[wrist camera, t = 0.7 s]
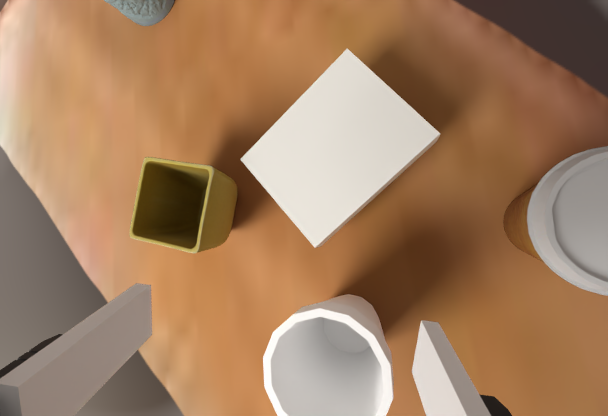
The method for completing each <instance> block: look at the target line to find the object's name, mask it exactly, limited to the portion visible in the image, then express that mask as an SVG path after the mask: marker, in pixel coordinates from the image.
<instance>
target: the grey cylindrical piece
mask: <svg viewBox="0 0 608 416" xmlns="http://www.w3.org/2000/svg"><path fill="white" fill-rule="evenodd" d="M104 1H105V2H107V3H109V4H111V5H112V6H114V7H115V8H117V9H118V10H119V11H120V12H121V13H123V14H124V15H125V16H126V17H128V18H129V19H131V20H132V21H134V22H135V23H137V24H139V25H142V26H150V25H154V24H156V23H158V22H160V21H161V20H162V19H164V17H165V16H166V15H167V14H168V13H169V11H170V10H171V8H172V6H173V4H174V0H104Z"/></svg>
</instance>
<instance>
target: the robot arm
mask: <svg viewBox="0 0 608 416" xmlns="http://www.w3.org/2000/svg"><path fill="white" fill-rule="evenodd" d="M151 335H152V311H151V285H145V284H138V283H136V284H135V285H133V286H132V287H130V288H129V289H128V290H126V291H125V292H123V293H122V294H120V295H119V296H118V297H116V298H115V299H113V300H112V301H110V302H109V303H108V304H106V305H105V306H103V307H102V308H100V309H99V310H98V311H96V312H95V313H93V314H92V315H90V316H89V317H88V318H86V319H85V320H83V321H82V322H80V323H79V324H78V325H76V326H75V327H74V328H72V329H70V330H69V331H68V332H66V333H65V334H58V335H56V336H54V337H52V338H49V339H47V340H45V341H43V342H41V343H40V344H38V345H37V346H35V347H34V348H33V349H31V350H30V351H29V352H27V353H25V354H24V355H22V356H21V357H19V358H18V360H15V361H13V362H12V363H10V364H9V365H7V366H6V367H4V368H3V369H1V370H0V416H74V415H75V414H76V413H77V412H78V411H79V410H80V408H82V407H83V406H84V404H86V403H87V401H88V400H89V399H90V398H91V397H92V396H93V395H94V394H95V393H96V392H97V391H98V390H99V389H100V388H101V387H102V386H103V385H104V384H105V383H106V382H107V381H108V380H109V378H110V377H112V376H113V375H114V373H115V372H116V371H117V370H118V369H119V368H120V367H121V366H122V365H123V364H124V363H125V362H126V361H127V360H128V359H129V358H130V357H131V356H132V355H133V354H134V353H135V352H136V351H137V350H138V349H139V348H140V347H141V345H142V344H143V343H144V342H145V341H146V340H147V339H148V338H149V337H150V336H151ZM412 374H413V377H414V380H415V383H416V386H417V389H418V392H419V395H420V398H421V401H422V404H423V407H424V410H425V413H426V416H512V415H511V414H510V412H509V410H508V409H507V408H506V407H505V406H504V405H503V404H501V403H500V402H499V401H498V400H497V399H496V398H495V397H493V396H486V395H479V393H478V392H477V390H476V388H475V386H474V385H473V383H472V381H471V379H470V377H469V376H468V374H467V372H466V370H465V369H464V367H463V365H462V363H461V362H460V360H459V358H458V356H457V355H456V353H455V351H454V349H453V348H452V346H451V344H450V342H449V341H448V339H447V337H446V335H445V333H444V332H443V330H442V328H441V326H440V325H439V323H438V322H431V321H423V320H421V324H420V330H419V335H418V341H417V346H416V352H415V357H414V363H413V368H412Z"/></svg>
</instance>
